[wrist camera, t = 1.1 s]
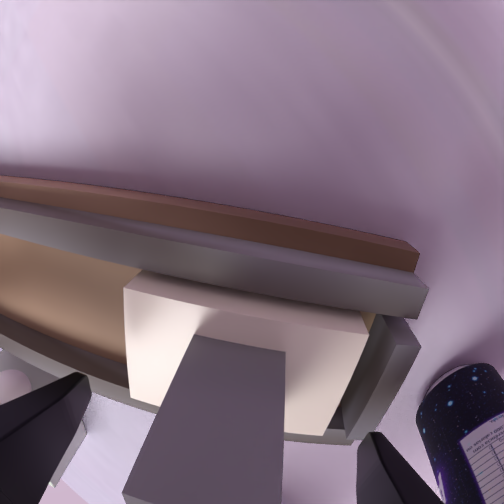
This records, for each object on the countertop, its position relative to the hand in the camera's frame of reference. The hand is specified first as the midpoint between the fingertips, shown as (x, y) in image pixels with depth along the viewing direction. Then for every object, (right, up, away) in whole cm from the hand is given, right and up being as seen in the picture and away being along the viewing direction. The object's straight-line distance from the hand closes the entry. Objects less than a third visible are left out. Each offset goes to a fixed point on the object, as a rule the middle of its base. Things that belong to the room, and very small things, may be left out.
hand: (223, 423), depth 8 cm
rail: (-5, +3, +6) cm, 8 cm away
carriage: (0, +1, +4) cm, 4 cm away
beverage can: (+13, -3, +6) cm, 15 cm away
